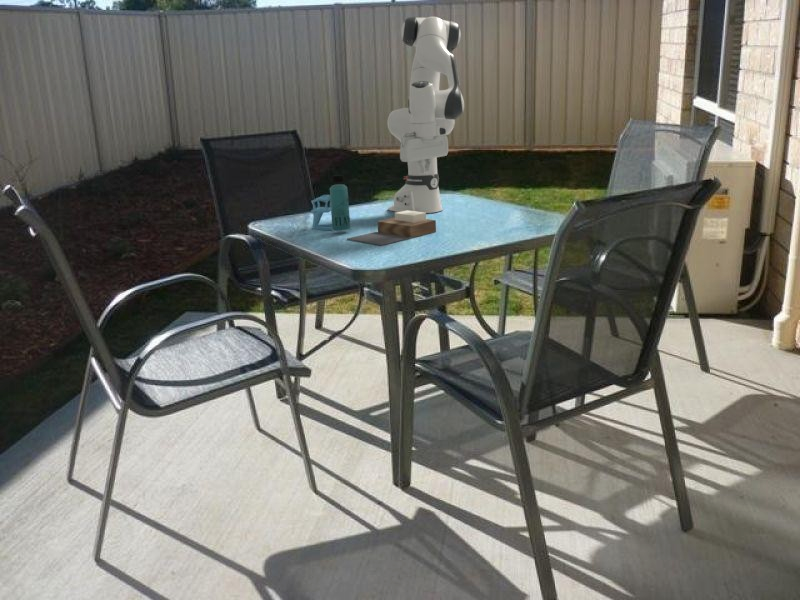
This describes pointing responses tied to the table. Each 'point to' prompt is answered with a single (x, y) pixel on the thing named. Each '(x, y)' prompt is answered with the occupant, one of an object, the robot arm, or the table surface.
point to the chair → (321, 213)
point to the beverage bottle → (339, 204)
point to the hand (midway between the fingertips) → (425, 172)
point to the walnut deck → (406, 227)
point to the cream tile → (410, 216)
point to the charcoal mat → (379, 238)
